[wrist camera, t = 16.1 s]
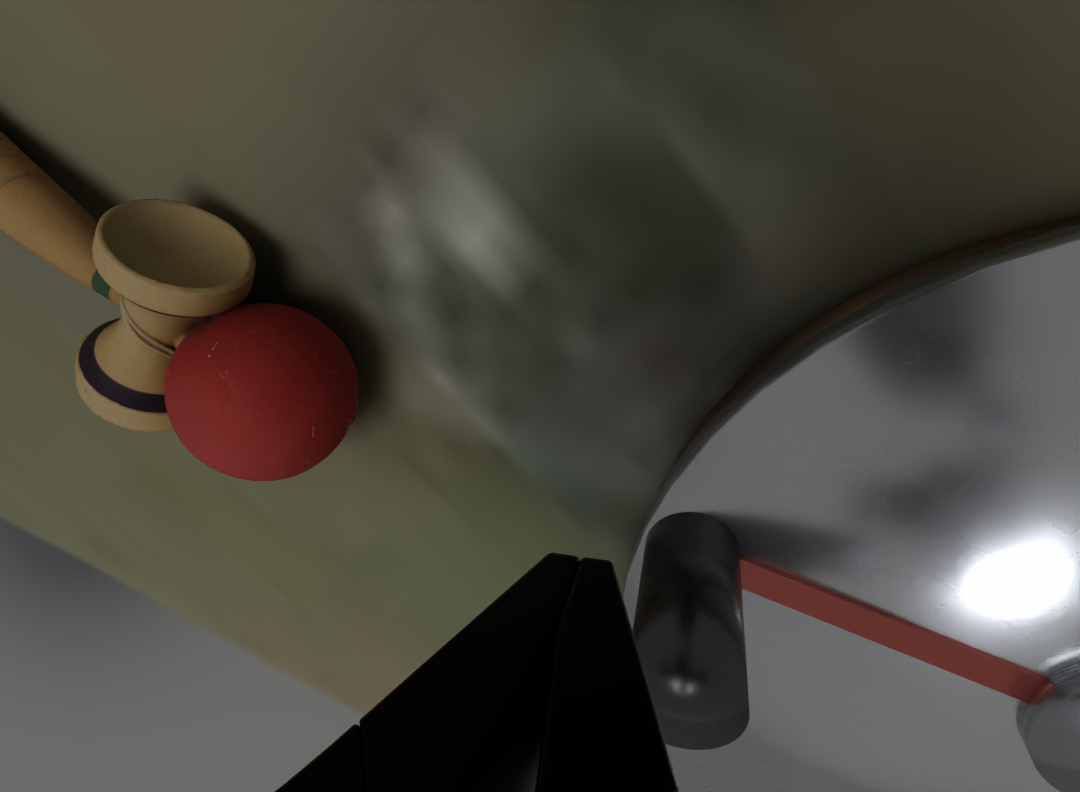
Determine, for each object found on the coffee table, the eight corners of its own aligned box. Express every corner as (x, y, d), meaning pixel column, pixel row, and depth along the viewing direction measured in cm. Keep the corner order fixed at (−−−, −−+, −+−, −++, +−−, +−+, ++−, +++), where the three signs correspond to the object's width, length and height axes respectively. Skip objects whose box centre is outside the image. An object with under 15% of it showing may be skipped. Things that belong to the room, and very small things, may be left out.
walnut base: (661, 196, 18) (656, 207, 17) (2148, 204, 12) (2391, 225, 10) (629, 796, 30) (625, 839, 29) (1362, 958, 24) (1413, 1026, 22)
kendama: (4, 228, 27) (328, 498, 25) (-200, 220, 21) (211, 573, 19) (64, 57, 24) (427, 347, 23) (-148, -7, 18) (328, 380, 17)
